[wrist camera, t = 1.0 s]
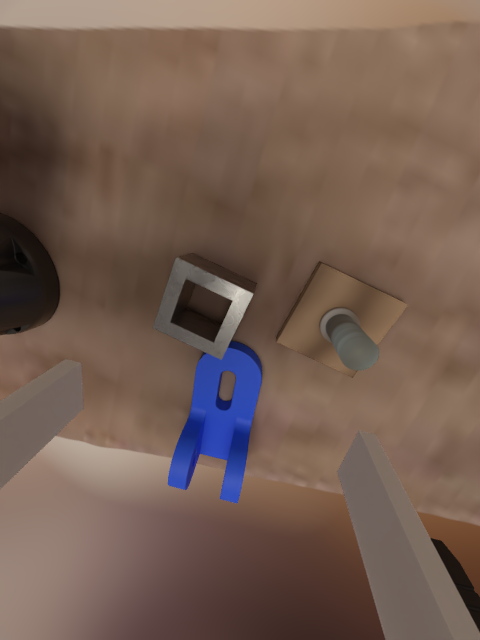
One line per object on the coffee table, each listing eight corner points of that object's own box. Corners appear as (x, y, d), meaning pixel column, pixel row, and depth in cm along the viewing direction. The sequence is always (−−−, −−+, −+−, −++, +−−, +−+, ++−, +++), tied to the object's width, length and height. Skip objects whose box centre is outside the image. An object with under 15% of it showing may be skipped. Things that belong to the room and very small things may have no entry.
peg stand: (276, 337, 29) (277, 374, 21) (319, 261, 25) (339, 273, 18) (349, 372, 29) (376, 421, 22) (402, 301, 26) (457, 330, 18)
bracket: (243, 451, 36) (234, 516, 28) (190, 438, 37) (166, 499, 29) (268, 348, 30) (266, 392, 22) (204, 334, 30) (177, 372, 22)
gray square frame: (171, 313, 30) (152, 328, 25) (193, 253, 27) (176, 257, 22) (229, 340, 30) (221, 359, 25) (256, 283, 27) (253, 293, 22)
